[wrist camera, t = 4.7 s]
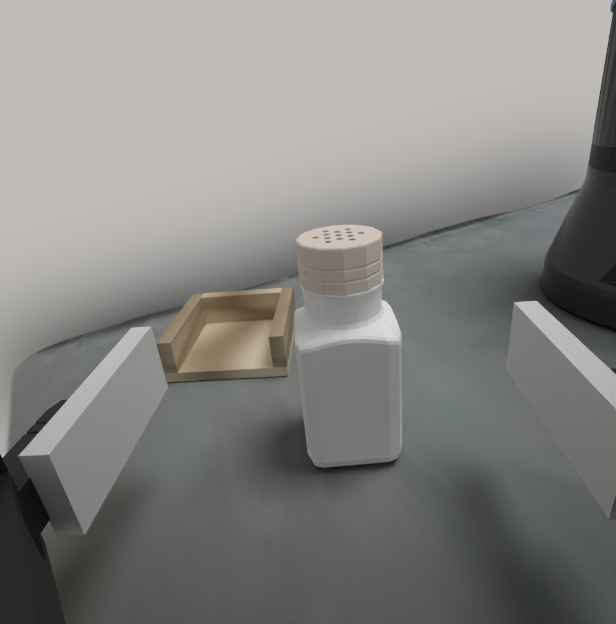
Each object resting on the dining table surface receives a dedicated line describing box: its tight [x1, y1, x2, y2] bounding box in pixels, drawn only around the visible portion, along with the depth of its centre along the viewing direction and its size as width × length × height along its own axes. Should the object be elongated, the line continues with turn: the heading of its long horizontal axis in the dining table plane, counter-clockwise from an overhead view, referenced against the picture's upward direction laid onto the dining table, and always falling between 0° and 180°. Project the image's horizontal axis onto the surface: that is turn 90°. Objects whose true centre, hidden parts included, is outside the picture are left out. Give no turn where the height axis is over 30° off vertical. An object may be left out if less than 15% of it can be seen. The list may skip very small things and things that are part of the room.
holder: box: [157, 287, 296, 382], centre depth 28 cm, size 7×7×3 cm
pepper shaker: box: [294, 225, 402, 468], centre depth 18 cm, size 4×4×10 cm
